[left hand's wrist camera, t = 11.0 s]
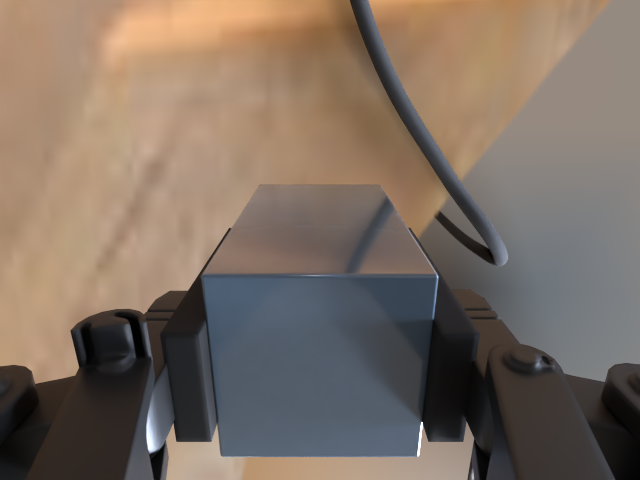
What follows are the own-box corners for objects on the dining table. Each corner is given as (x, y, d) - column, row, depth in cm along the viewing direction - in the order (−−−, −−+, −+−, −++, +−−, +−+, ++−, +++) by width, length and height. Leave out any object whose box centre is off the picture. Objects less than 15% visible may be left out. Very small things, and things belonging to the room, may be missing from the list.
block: (381, 184, 16) (440, 275, 8) (375, 294, 17) (419, 458, 10) (258, 184, 16) (199, 275, 8) (264, 294, 17) (219, 458, 10)
